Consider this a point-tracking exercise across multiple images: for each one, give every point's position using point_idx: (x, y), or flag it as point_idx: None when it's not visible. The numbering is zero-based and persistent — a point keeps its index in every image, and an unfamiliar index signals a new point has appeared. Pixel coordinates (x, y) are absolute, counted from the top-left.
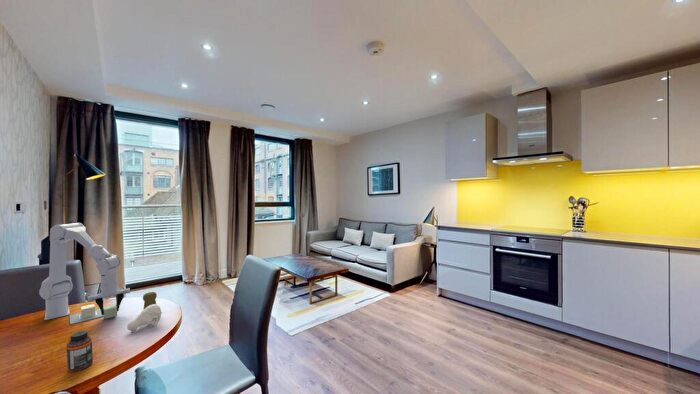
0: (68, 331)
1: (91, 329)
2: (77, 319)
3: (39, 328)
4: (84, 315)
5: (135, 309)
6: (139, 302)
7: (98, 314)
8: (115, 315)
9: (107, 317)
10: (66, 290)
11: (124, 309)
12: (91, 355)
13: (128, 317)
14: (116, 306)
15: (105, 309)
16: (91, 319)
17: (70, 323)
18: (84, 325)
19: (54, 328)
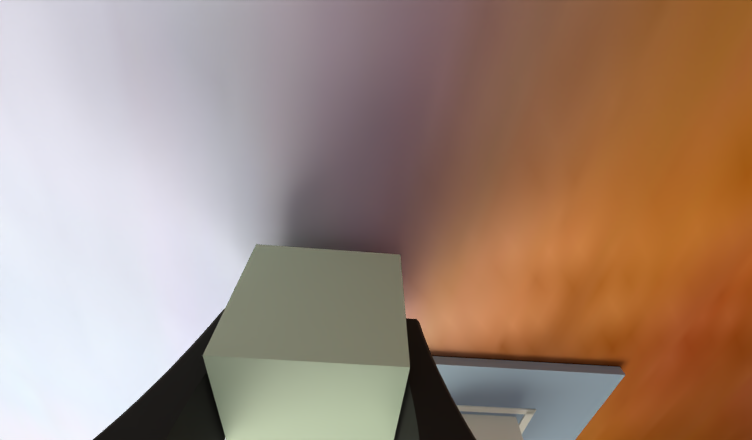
0: (739, 226)
1: (605, 50)
2: (544, 415)
3: (737, 434)
4: (502, 437)
5: (89, 316)
6: (92, 431)
7: None
8: (274, 250)
9: (365, 256)
10: None
11: None
12: None
13: (123, 112)
14: (213, 377)
15: (385, 370)
16: (469, 358)
17: (616, 381)
18: (570, 268)
19: (711, 377)
